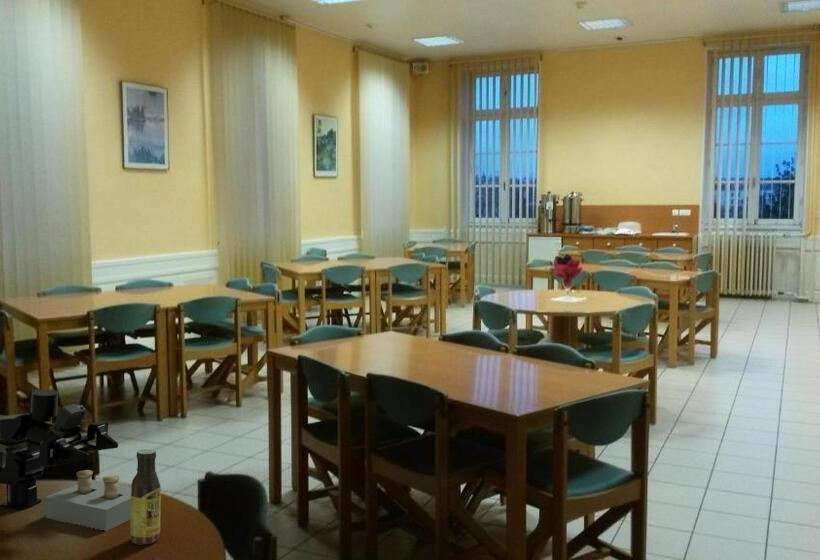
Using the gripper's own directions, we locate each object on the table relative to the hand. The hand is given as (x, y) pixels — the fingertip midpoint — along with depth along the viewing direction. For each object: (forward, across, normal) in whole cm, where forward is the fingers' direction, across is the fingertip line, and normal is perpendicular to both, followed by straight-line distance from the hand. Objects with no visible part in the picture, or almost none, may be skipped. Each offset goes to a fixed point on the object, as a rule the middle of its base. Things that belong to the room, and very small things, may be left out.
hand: (103, 451), depth 180 cm
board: (-3, +3, +17) cm, 18 cm away
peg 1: (-7, +3, +13) cm, 15 cm away
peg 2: (+1, +3, +13) cm, 13 cm away
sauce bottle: (+17, -4, +15) cm, 23 cm away
